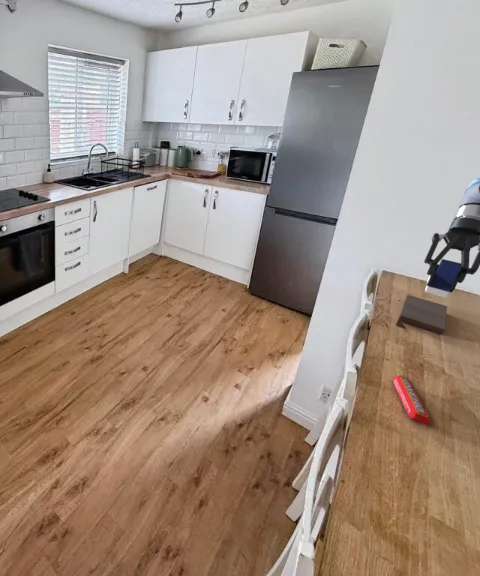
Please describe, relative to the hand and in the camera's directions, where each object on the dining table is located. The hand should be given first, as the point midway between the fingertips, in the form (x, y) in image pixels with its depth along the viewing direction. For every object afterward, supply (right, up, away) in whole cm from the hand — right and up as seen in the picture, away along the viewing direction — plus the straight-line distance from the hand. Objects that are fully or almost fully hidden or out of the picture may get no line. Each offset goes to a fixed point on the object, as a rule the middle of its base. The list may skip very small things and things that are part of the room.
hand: (440, 287), depth 111 cm
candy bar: (-29, -28, -22) cm, 46 cm away
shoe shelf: (+4, -11, +12) cm, 17 cm away
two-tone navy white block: (+5, 0, +6) cm, 8 cm away
